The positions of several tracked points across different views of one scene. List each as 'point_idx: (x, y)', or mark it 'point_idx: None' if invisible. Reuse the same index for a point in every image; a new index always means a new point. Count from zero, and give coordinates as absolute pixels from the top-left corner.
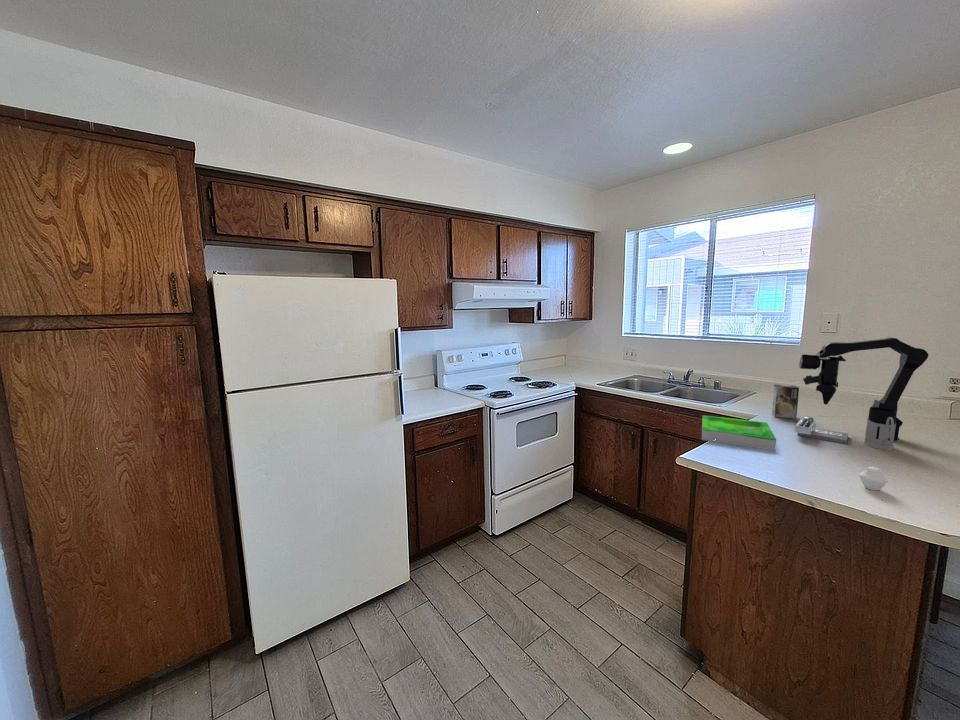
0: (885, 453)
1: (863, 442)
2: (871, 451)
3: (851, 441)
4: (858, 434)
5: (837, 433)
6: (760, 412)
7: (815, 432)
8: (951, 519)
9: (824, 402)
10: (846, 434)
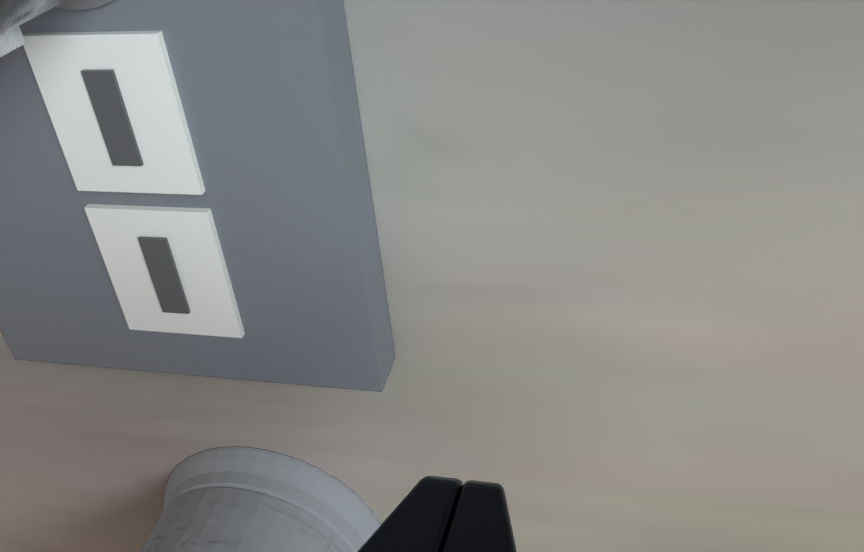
0: (61, 530)
1: (227, 457)
2: (11, 465)
3: None
4: (651, 455)
5: (219, 294)
6: None
7: None
8: None
9: (384, 546)
10: (299, 372)
